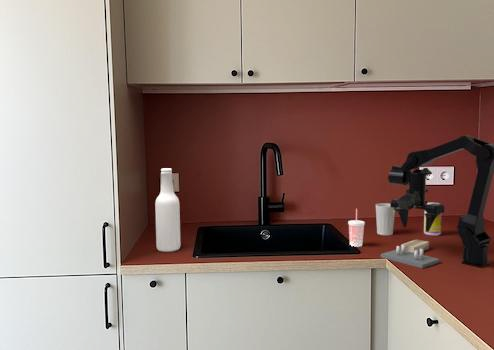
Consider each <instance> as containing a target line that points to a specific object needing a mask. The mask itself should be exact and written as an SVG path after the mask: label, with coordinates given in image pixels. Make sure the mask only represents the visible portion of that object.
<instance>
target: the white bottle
mask: <svg viewBox="0 0 494 350" xmlns="http://www.w3.org/2000/svg"><path fill="white" fill-rule="evenodd" d="M172 170H173V169H172V168H168V167H167V168H166V167H165V168H161V169H160V171H161V172H160V174H161V175H160V177H161V178H160V192H159V195H158V196H157V197H156V199H155V202H154V205H155V238H156V239H155V240H156V241H155V243H156V249H157V250H158V251H159V252H164V253H166V252H167V253H169V252H176V251H178V250H180V248H181V216H180V213H181V211H180V210H181V208H180V200H179V197H178V196H177V195H176V193H175V192H174V183H173V171H172Z"/></svg>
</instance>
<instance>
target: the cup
mask: <svg viewBox="0 0 494 350" xmlns="http://www.w3.org/2000/svg"><path fill="white" fill-rule="evenodd" d="M395 212H396V210H394V209H393V207H390V203H387V202H385V203H383V202H382V203H376V204H375V215H376V216H375V217H376V219H375V220H376V233H377V235H380V236H391V235H393V234H394V225H395V224H394V223H395V215H396V214H395Z"/></svg>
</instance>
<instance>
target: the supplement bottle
mask: <svg viewBox="0 0 494 350" xmlns="http://www.w3.org/2000/svg"><path fill="white" fill-rule="evenodd" d="M432 203H434V202H427V204H432ZM435 203H436V204H440V203H439V202H435ZM427 204H426V205H427ZM425 213H427V212H426V211H425V210H424V215H423V217H424V218H423V234H424V235H426V236H431V237H432V236H435V237H436V236H439V235H441V234H442V216H443V215H442V213H441V214H440V215H438V216H437V217H436V219H435V220H434V222H433V224H432V226H431V228H430V230H429V232H426V216H425Z"/></svg>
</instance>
